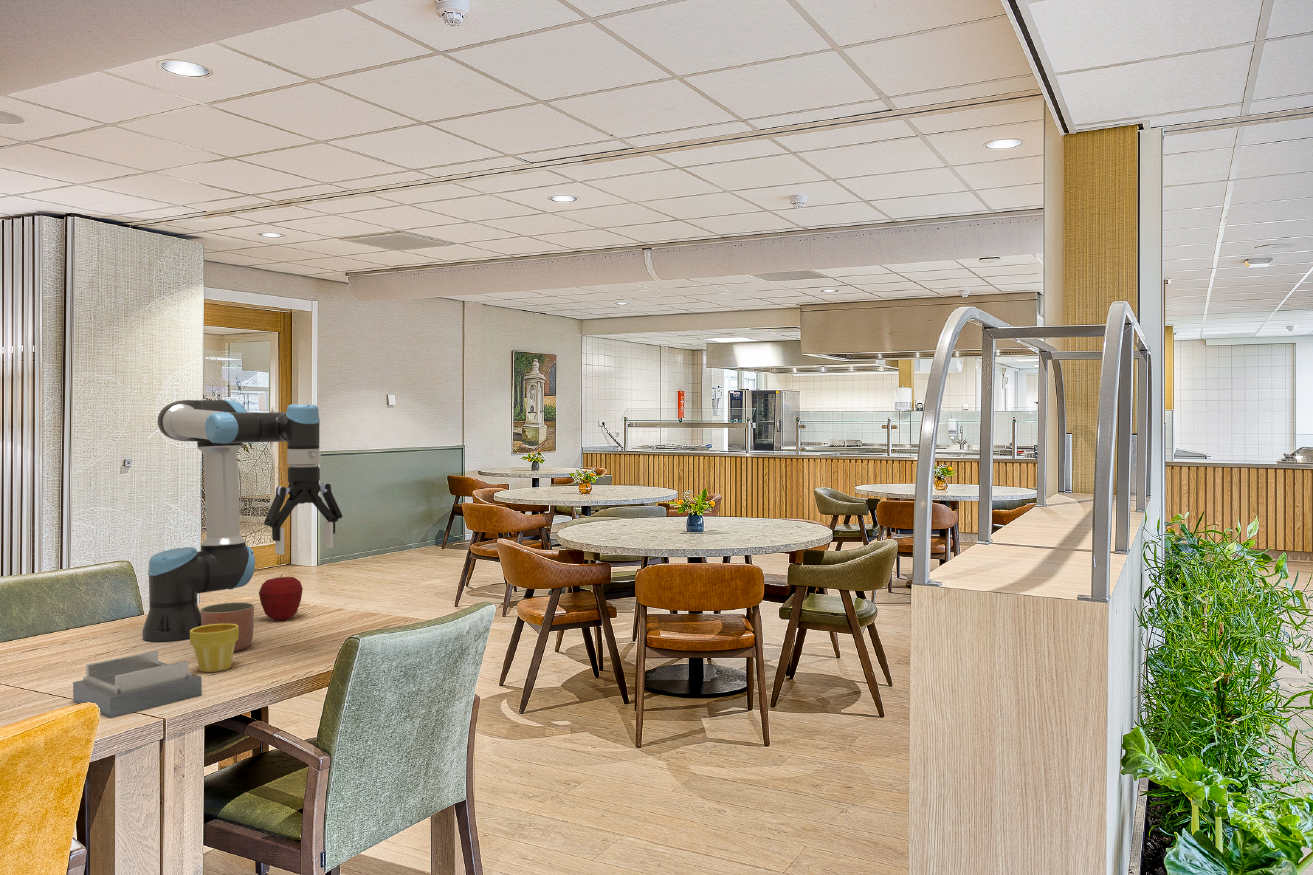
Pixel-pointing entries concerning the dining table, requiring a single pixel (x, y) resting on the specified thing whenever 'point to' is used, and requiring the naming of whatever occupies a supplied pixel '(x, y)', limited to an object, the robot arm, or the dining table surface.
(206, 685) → the dining table surface
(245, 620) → the planter
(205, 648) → the plant pot
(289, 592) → the apple
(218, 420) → the robot arm
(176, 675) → the grey square tray
